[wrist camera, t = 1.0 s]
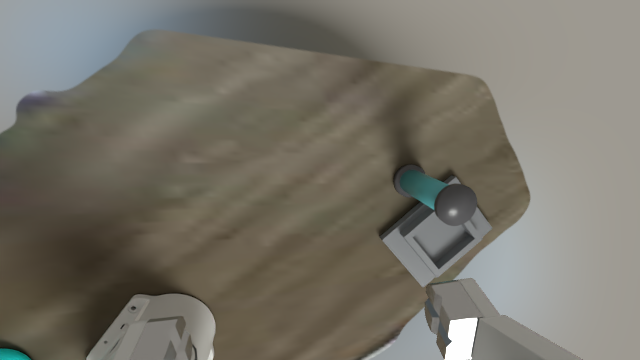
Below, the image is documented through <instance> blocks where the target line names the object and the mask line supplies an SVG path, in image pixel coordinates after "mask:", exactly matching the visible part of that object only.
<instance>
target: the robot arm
mask: <svg viewBox="0 0 640 360" xmlns="http://www.w3.org/2000/svg"><path fill="white" fill-rule="evenodd" d="M426 294H427V296H428V299H427V301H426V302H425V316H426V320H427V323H428V326H429V328H430V330H431V332H433V333H434V334H436V335H437V342H436V343H437V345H438V347H439V349H440V352H441V354H442V356H443V358H444V360H462V359H471V360H583V359H581V358H579V357H578V356H576V355H574V354H572V353H571V352H569V351H567V350H565V349H564V348H562V347H560V346H558V345H557V344H555V343H553V342H551V341H550V340H548V339H546V338H544V337H543V336H541V335H539V334H537V333H536V332H534V331H532V330H530V329H529V328H527V327H525V326H523V325H521V324H520V323H518V322H516V321H515V320H513V319H511V318H509V317H508V316H506V315H500V314H499V313H498V311H497V310H496V309H495V307H494V306H493V305H492V303H491V302H490V301H489V299H488V298H487V296H486V295H485V294H484V292H483V291H482V290H481V288H480V287H479V285H478V284H477V283H476V281H475V280H474V279H472V278H468V279H460V280H452V281H445V282H438V283H431V284H428V285H427V287H426ZM132 306H135V307H136V308H133V307H132ZM214 335H215V321H214V317H213V315H212V313H211V311H210V310H209V309H208V307H207V306H206V305H205V304H203V303H202V302H201V301H199V300H197V299H196V298H193V297H191V296H188V295H183V294H165V295H159V296H150V295H143V294H137V295H134V296H133V297H132V298H131V299H130V301H129V302H128V303H127V304H126V306H125V307H124V308H123V310H122V311H121V312H120V314H119V315H118V316H117V317H116V319H115V320H114V321H113V323H112V324H111V325H110V327H109V328H108V329H107V330H106V332H105V333H104V334H103V336H102V337H101V338H100V339H99V341H98V342H97V343H96V345H95V346H94V347H93V349H92V350H91V351H90V353H89V354H88V356H87V358H86V360H213V357H214V349H213V338H214Z"/></svg>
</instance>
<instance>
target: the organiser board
mask: <svg viewBox="0 0 640 360" xmlns="http://www.w3.org/2000/svg"><path fill="white" fill-rule="evenodd" d="M444 183H446V184H448V185H450V184H461V183H460V182H459V181H458V179H457V178H456V177H455V176H452V175H451V176H450V177H449V178H448V179H446V180H445V181H444ZM491 229H492V227H491V226H490V224H489V223H488V221H487V220H486V219H485V217H484V216H483V214H482V213H481V212H480V210H479V209H478V207H476V211H475V213H474V215H473V216H472V217H471V219H470V220H469V221H467V222H466V223H464V224H462V225H459V226H450V225H447V224H445V223H444V222H442V221H441V220H440V219H439V218H438V217H437V216H436V214H435V210H433V209H432V208H430V207H429V206H427V205H425V204H424V203H422V202H420V203H418V204H417V205H416V206H415V207H414V208H413V209H411V210H410V211H409V212H408V213H407V214H406V215H404V216H403V217H402V218H401V219H400V220H399V221H397V222H396V223H395V224H394V225H393V226H392V227H390V228H389V229H388V230H387V231H386V232H385V233H383V234H382V235H381V236H380V238H381V239H382V240H383V242H384V243H385V244H386V245H387V246H388V247H389V249H390V250H391V251H392V252H393V253H394V254H395V256H396V257H397V258H398V259H399V260H400V261H401V263H402V264H403V265H404V266H405V267H406V268H407V270H408V271H409V272H410V273H411V274H412V275H413V277H414V278H415V279H416V280H417V281H418V282H419V284H420V285H421V286H422V287H424V286H425V285H427V284H428V283H429V282H430V281H431V280H432V279H434V278H435V277H439V276H440V275H441V274H442V273H443V272H444V271H446V270H447V269H448V268H449V267H450V266H452V265H453V264H454V263H455V262H456V261H457V260H459V259H460V258H461V257H462V256H463V255H464V254H466V253H467V252H468V251H469V250H470V249H472V248H473V247H474V246H475V245H476V244H477V243H479V242H480V241H481V240H482V239H483V238H482V237H483V236H484V235H485V234H486V233H488V232H489V231H490V230H491Z"/></svg>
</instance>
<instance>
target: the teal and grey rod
mask: <svg viewBox="0 0 640 360" xmlns="http://www.w3.org/2000/svg"><path fill="white" fill-rule="evenodd" d="M393 182H394V187H395V189H396V191H397V192H398V193H399V194H401V195H403V196H405V197H414V198H416V199H417V200H419V201H421V202H422V203H424V204H425V205H427V206H429V207H430V208H432V209H433V210H435V214H436V216H437V217H438V218H439V219H440V220H441V221H442V222H444V223H445V224H447V225H450V226H459V225H462V224H464V223H466V222H467V221H469V220H470V219H471V217H472V216H473V215H474V213H475V211H476V207H477V198H476V195H475V193H474V191H473V190H472V189H471V188H469V187H467V186H465V185H462V184H450V185H448V184H446V183H444V182H441V181H439V180H437V179H434V178H432V177H430V176H428V175H426V174H425V172H424V171H423V169H421V168H420V167H418V166H416V165H412V164H408V165H404V166H402V167H401V168H400V169H399V170H398V171H397V172H396V174H395V176H394V181H393Z"/></svg>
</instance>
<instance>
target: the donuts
mask: <svg viewBox="0 0 640 360" xmlns="http://www.w3.org/2000/svg"><path fill="white" fill-rule="evenodd" d="M0 360H31V359H30V358H29V357H28V356H27V355H25V354H23V353H22V352H19V351H16V350H12V349H0Z"/></svg>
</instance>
